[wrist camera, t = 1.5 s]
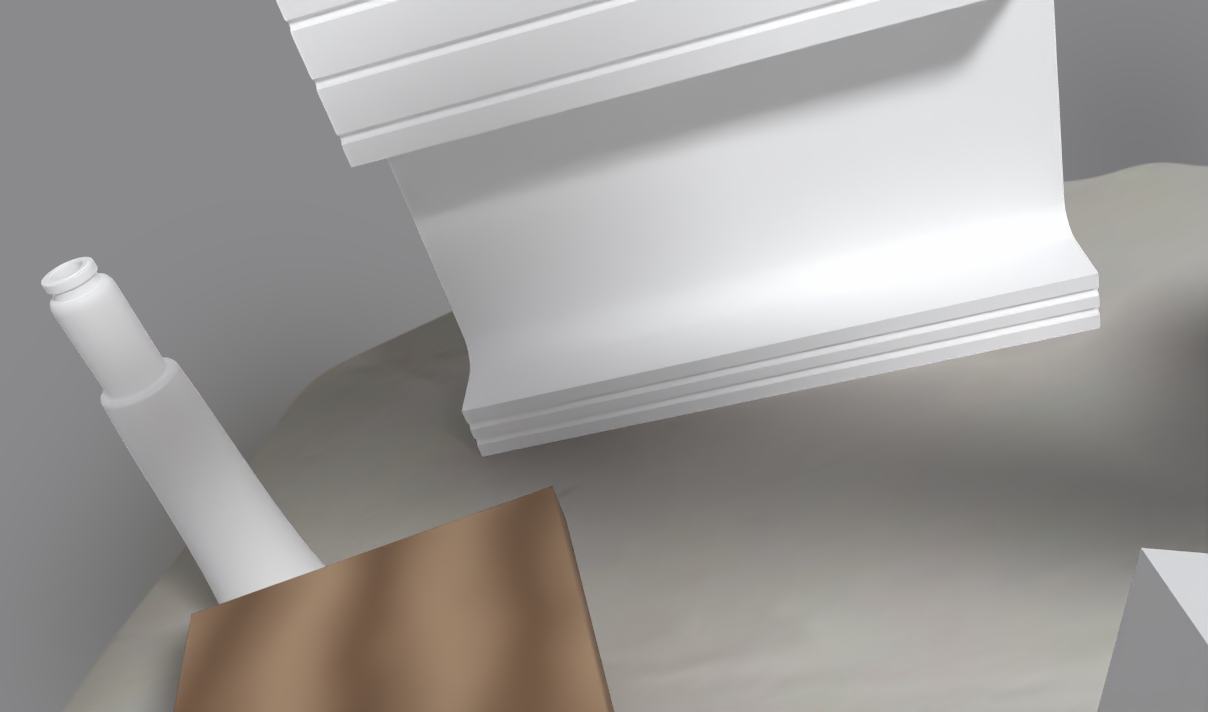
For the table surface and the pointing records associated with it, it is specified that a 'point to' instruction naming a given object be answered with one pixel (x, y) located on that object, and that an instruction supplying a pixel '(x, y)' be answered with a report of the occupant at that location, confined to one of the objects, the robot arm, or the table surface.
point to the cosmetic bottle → (177, 441)
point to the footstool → (412, 628)
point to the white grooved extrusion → (711, 190)
